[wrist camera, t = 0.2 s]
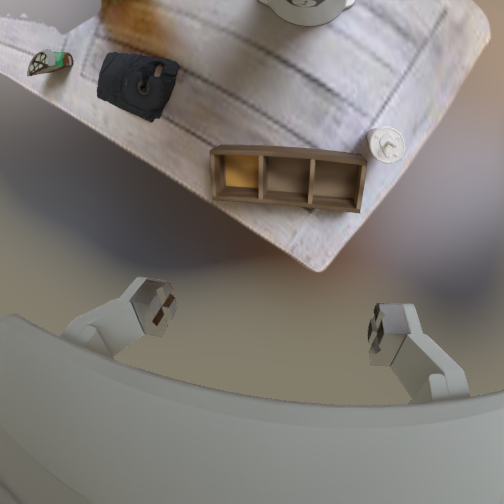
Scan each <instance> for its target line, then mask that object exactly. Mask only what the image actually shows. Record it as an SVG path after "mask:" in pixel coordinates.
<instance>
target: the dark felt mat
mask: <svg viewBox="0 0 504 504" xmlns="http://www.w3.org/2000/svg"><path fill="white" fill-rule="evenodd" d="M158 64H161V65H162V66H163V67H164V69H163V70H162V72H161V75H160V76H158V77H155V76H154V73H155V68H156V65H158ZM178 67H179V65H178V64H177V63H176V62H175V61H171V60H168V59H161V58H157V57H149V56H147V57H146V56H142V55H137V54H124V53H117V52H113V53H108V54H107V55H106V57H105V60H104V62H103V65H102V68H101V71H100V74H99V80H98V87H97V97H98V98H100V99H102V100H104V101H108V102H109V103H111V104H113V105H115V106H117V107H119V108H121V109H123V110H126V111H128V112H130V113H133V114H135V115H137V116H140V117H141V118H144V119H145V120H148V121H150V122H153V121H154V119H155V118H160V116H161V113H162V110H163V108H164V105H165V104H166V102H167V101H168V100H169V98H170V96H171V93H172V90H173V88H174V85H175V79H176V78H175V77H176V75H177V73H176V72H177V70H178Z"/></svg>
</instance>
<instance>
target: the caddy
mask: <svg viewBox="0 0 504 504" xmlns="http://www.w3.org/2000/svg"><path fill="white" fill-rule="evenodd" d="M210 165H211V182H212V198H213V200H222V201H238V202H252V203H265V204H277V205H288V206H299V207H309V208H318V209H327V210H336V211H345V212H353V213H360V209H361V203H362V196H363V190H364V183H365V175H366V167H367V161H366V160H365V158H364V157H363V156H362V155H361V154H354V153H346V152H338V151H330V150H320V149H309V148H297V147H283V146H263V145H219V146H217V147H215V148H214V149H212V150H210Z"/></svg>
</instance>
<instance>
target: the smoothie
mask: <svg viewBox="0 0 504 504" xmlns="http://www.w3.org/2000/svg"><path fill="white" fill-rule="evenodd" d="M367 140H368V142H369V149H370V151H371V153H372V155H373V156H374V157H375V158H376V159H377V160H379V161H381V162H383V163H394V162H396V161H398V160H399V159H400V158H401V157H402V156H403V154H404V151H405V142H404V139H403V137H402V135H401V134H400V133H399V132H398V131H397V130H396V129H394V128H392V127H389V126H381V127H379V128H375V129H371V130H370V131H369V132H368V134H367Z"/></svg>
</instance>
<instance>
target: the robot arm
mask: <svg viewBox="0 0 504 504" xmlns="http://www.w3.org/2000/svg"><path fill="white" fill-rule="evenodd" d="M258 1H260V2H261V3H263V4H266V5H268V6H269V7H271V8H272V9H273V11H274V12H275V13H276V14H277V15H278V16H280V17H281V18H283V19H284V20H286V21H288V22H290V23H293V24H297V25H302V26H317V25H322V24H325V23H328V22H330V21H331V20H333V19H334V18H336V17H337V16H338V15H339V13H340V12H341V11H342V10H344V9H346V8H349V7H351V6H353V5H354V4H355V0H258ZM172 290H173V288H172V285H171V283H170V282H168V281H163V280H157V279H152V278H145V277H137V278H136V279H135V280H134V281H133V283H132V284H131V285H130V286H129V287H128V288H127V290H126V291H125V292H124V293H123V294H122V296H121V297H120V298H119V299H114V300H112V301H110V302H108V303H106V304H104V305H101V306H99V307H97V308H95V309H93V310H91V311H89V312H87V313H85V314H83V315H81V316H79V317H77V318H75V319H73V321H72V322H71V323H70V324H69V325H68V326H67V328H66V329H65V330H64V331H63V333H62V334H61V335H60V336H58V335H56V334H53V333H51V332H49V331H47V330H45V329H43V328H41V327H39V326H38V325H36V324H34V323H32V322H30V321H28V320H26V319H25V318H23V317H21V316H20V315H18V314H9V315H6V316H4V317H2V318H0V504H504V390H500V391H496V392H491V393H487V394H482V395H477V396H472V397H470V393H469V389H468V385H467V381H466V377H465V374H464V371H463V370H462V369H461V368H460V367H459V366H458V365H457V364H456V363H455V362H454V361H453V360H452V359H451V358H450V357H449V356H448V355H447V354H446V353H445V352H444V351H443V350H442V349H441V348H440V347H439V346H438V345H437V344H436V343H435V342H434V341H433V340H431V338H430V337H428V336H427V335H423V332H422V329H421V325H420V322H419V319H418V316H417V313H416V310H415V307H414V305H413V304H391V303H377V304H376V305H375V308H374V317H373V318H372V319H371V320H370V323H369V327H368V343H369V344H370V345H371V348H370V350H369V357H370V365H375V366H391V369H392V370H393V372H394V373H395V375H396V376H397V377H398V379H399V380H400V382H401V383H402V385H403V386H404V387H405V389H406V390H407V392H408V393H409V395H410V396H411V398H412V400H411V401H410V402H409V403H408V404H398V405H337V404H318V403H306V402H296V401H286V400H278V399H270V398H263V397H257V396H251V395H244V394H239V393H234V392H228V391H224V390H219V389H214V388H209V387H205V386H201V385H196V384H192V383H188V382H185V381H181V380H177V379H173V378H170V377H166V376H163V375H159V374H156V373H153V372H149V371H146V370H143V369H140V368H137V367H134V366H131V365H128V364H125V363H122V362H120V361H117V360H115V359H114V358H113V356H115V355H116V354H117V353H119V352H120V351H122V350H123V349H125V348H126V347H127V346H129V345H130V344H132V343H133V342H135V341H136V340H137V339H139V338H140V337H142V336H143V335H144V334H149V335H153V336H158V337H162V335H163V334H164V332H165V330H166V328H167V327H168V325H167V322H168V321H169V320H171V319H172V318H173V317H174V315H175V312H176V299H175V297H174V296H173V295H172V294H171V292H172Z"/></svg>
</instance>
